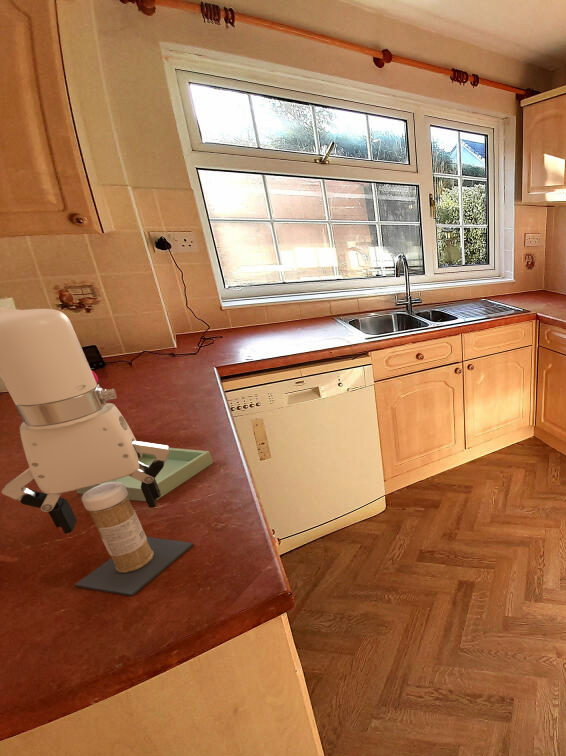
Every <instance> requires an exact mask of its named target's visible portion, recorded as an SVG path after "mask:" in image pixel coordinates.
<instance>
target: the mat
mask: <svg viewBox="0 0 566 756" xmlns="http://www.w3.org/2000/svg"><path fill="white" fill-rule="evenodd" d="M146 538H147V541H148V544H149V546H150V548H151V550H152V551H153V552H154V555H153V558H152V559H151V561H149V562H148V563H147V564H146V565H144V566H143V567H141V568H139V569H137V570H134V571H130V572H124V573H123V572H118V571H117V570H116V565H115V563H114V561H113V559H112V557H110V558H109V559H108V560H107V561H105V562H103V563H102V564H101V565H100V566H98V567H97V568H96V569H94V570H93V571H91V572H90V573H88V574H87V575H86V576H84V577H83V578H81V579H80V580H79V581H77V582H76V583H75V584H74V586H75V587H76V588H80V589H81V588H82V589H87V590H93V591H99V592H105V593H112V594H118V595H122V596H129V597H133V596H135V594H137V593H138V592H140V591H141V590H142V589H143V588H144V587H145V586H146V585H148V584H149V583H150V582H151V581H153V579H155V578H156V577H157V576H158V575H160V574H161V573H162V572H163V571H164V570H165V569H167V568H168V567H169V566H171V565H172V564H173V563H174V562H176V560H177V559H179V558H180V557H181V556H182V555H184V554H185V553H187V551H188V550H190V549H191V548H192V547H193V546H194V545H195V544H194V543H193V542H189V541H188V542H187V541H180V540H174V539H173V540H172V539H165V538H158V537H151V536H146Z"/></svg>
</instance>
